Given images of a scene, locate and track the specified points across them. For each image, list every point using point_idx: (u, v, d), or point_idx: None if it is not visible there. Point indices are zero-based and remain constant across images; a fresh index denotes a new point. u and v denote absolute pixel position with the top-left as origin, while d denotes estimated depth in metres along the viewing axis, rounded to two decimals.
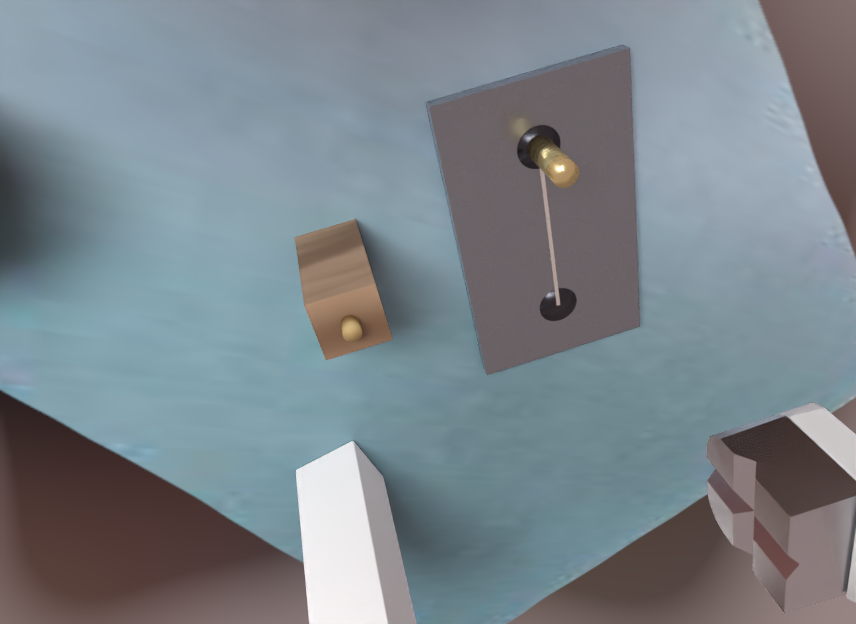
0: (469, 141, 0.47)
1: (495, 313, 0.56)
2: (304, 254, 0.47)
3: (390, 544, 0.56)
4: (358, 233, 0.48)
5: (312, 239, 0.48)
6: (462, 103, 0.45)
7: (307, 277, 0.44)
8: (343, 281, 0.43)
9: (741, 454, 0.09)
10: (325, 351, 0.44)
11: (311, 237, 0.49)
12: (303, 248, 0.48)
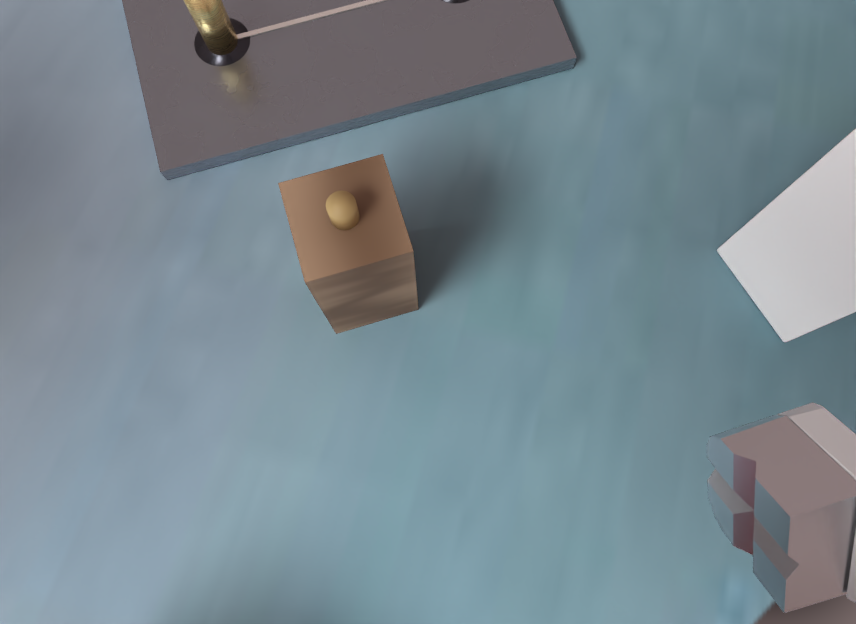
0: (207, 121, 0.38)
1: (465, 59, 0.39)
2: None
3: None
4: None
5: None
6: (160, 134, 0.38)
7: None
8: None
9: (741, 454, 0.09)
10: (395, 252, 0.28)
11: None
12: None
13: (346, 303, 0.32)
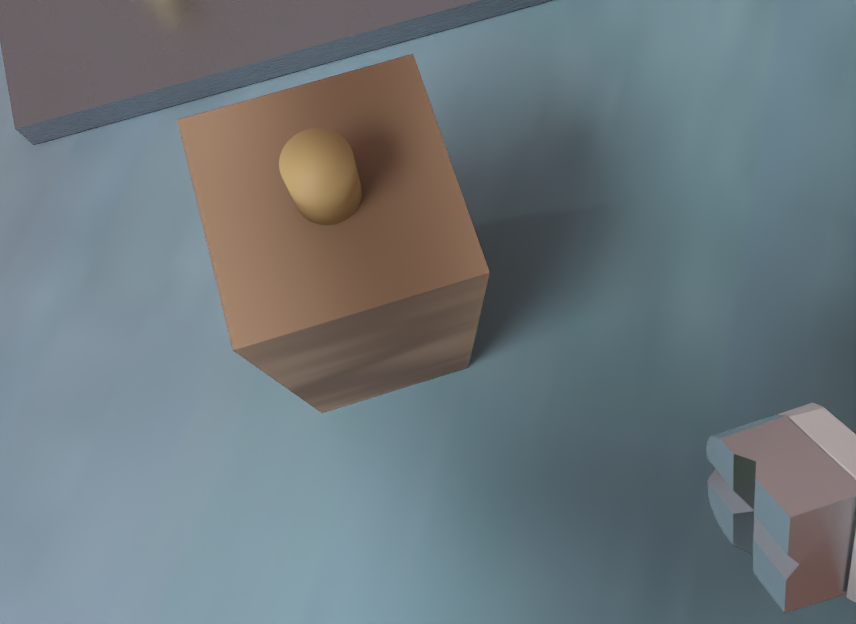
0: (100, 43, 0.22)
1: None
2: None
3: None
4: None
5: None
6: (18, 65, 0.22)
7: None
8: None
9: (741, 454, 0.09)
10: (447, 275, 0.12)
11: None
12: None
13: (337, 374, 0.16)
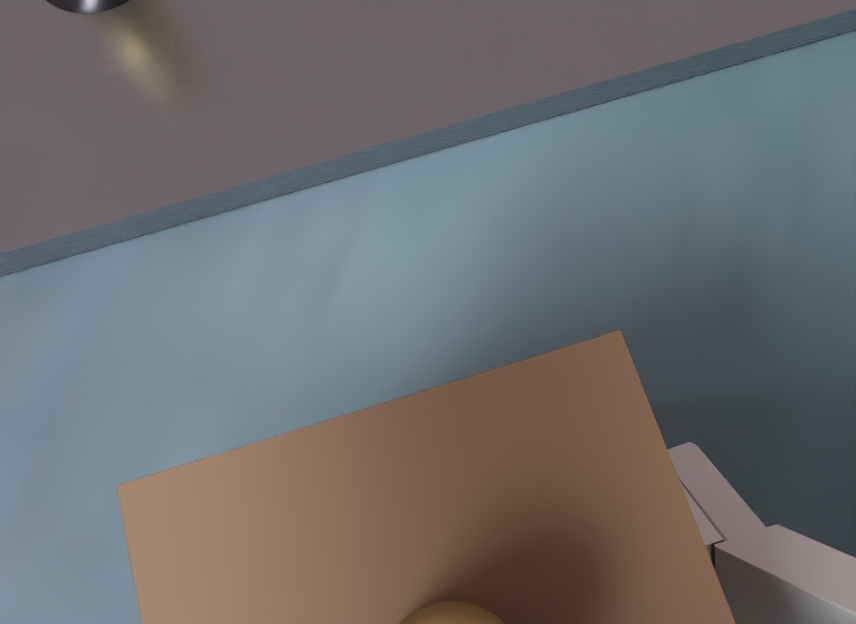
0: (48, 147, 0.16)
1: None
2: None
3: None
4: None
5: None
6: None
7: None
8: None
9: None
10: None
11: None
12: None
13: None
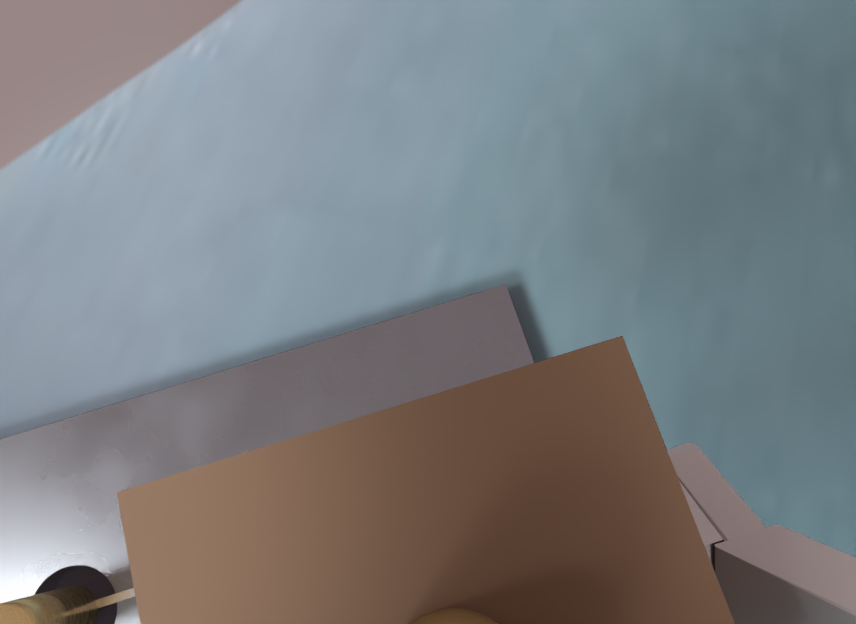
0: None
1: None
2: None
3: None
4: None
5: None
6: None
7: None
8: None
9: None
10: None
11: None
12: None
13: None
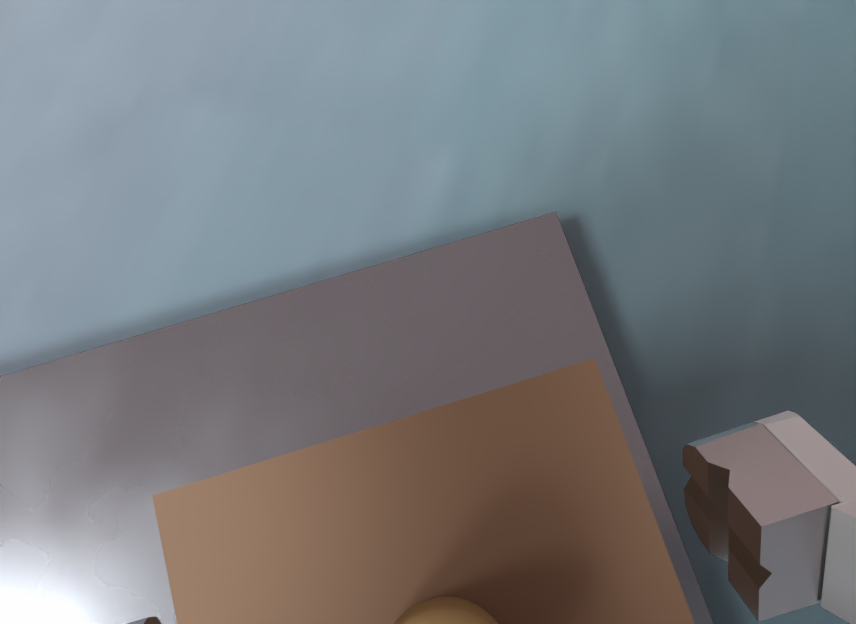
0: None
1: None
2: None
3: None
4: None
5: None
6: None
7: None
8: None
9: (715, 462, 0.09)
10: None
11: None
12: None
13: None
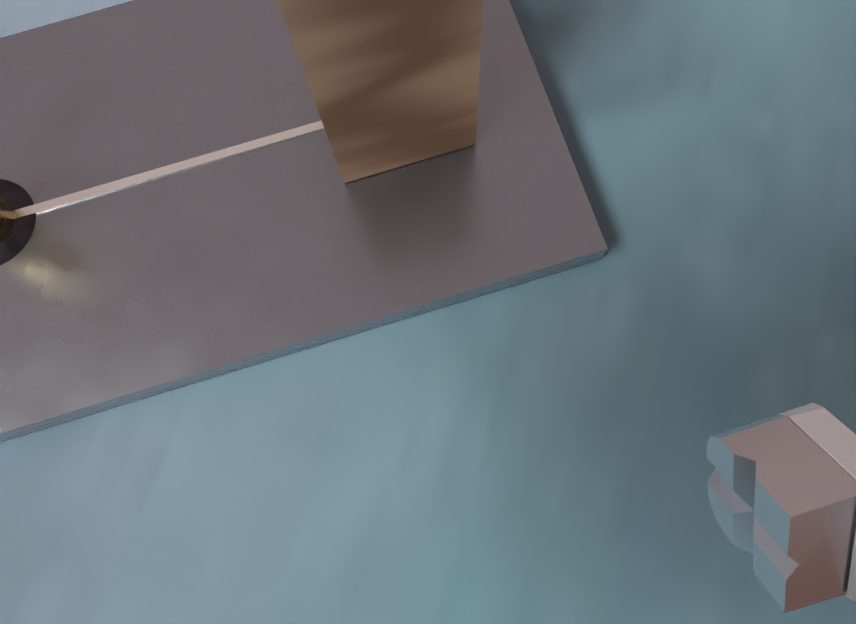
0: None
1: (407, 254, 0.22)
2: None
3: None
4: None
5: None
6: None
7: None
8: None
9: (741, 454, 0.09)
10: None
11: None
12: None
13: (358, 94, 0.18)
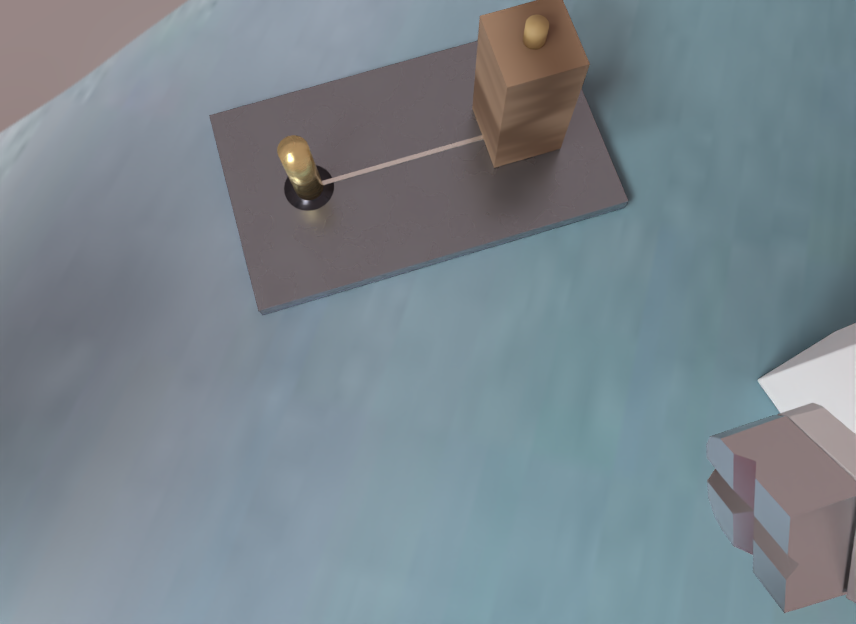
0: (298, 263, 0.43)
1: (528, 204, 0.43)
2: (495, 139, 0.41)
3: None
4: (474, 90, 0.43)
5: (489, 143, 0.43)
6: (256, 275, 0.43)
7: (499, 112, 0.39)
8: (489, 60, 0.37)
9: (741, 454, 0.09)
10: (576, 64, 0.36)
11: (489, 145, 0.44)
12: (494, 146, 0.42)
13: (519, 125, 0.40)
